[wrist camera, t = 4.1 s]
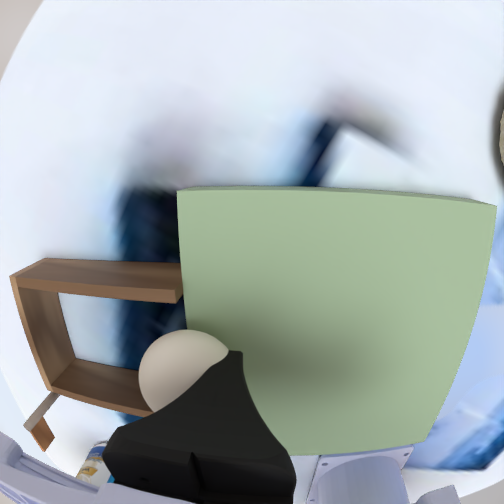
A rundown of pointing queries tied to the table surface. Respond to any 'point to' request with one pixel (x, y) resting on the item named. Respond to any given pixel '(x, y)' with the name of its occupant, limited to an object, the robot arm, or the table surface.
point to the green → (337, 303)
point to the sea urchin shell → (502, 138)
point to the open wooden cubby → (56, 336)
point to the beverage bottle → (95, 468)
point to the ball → (176, 365)
